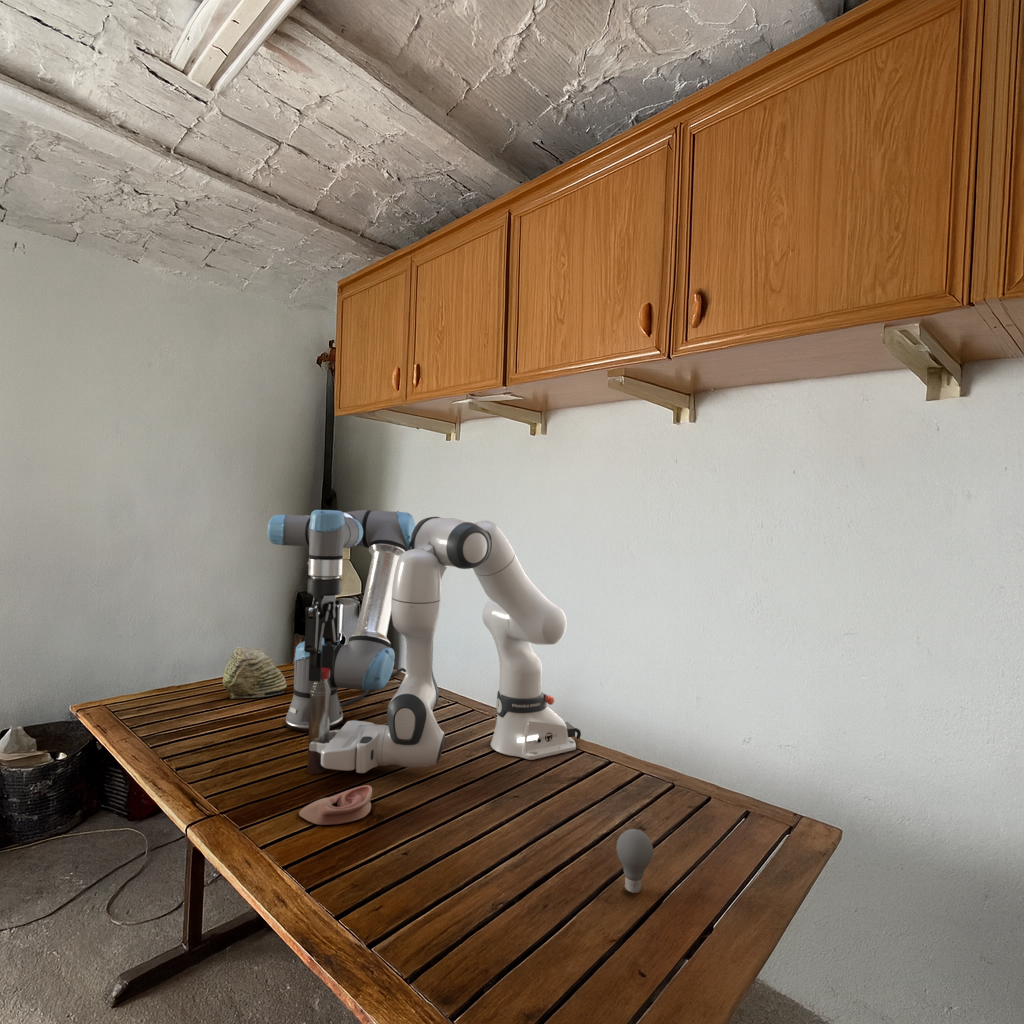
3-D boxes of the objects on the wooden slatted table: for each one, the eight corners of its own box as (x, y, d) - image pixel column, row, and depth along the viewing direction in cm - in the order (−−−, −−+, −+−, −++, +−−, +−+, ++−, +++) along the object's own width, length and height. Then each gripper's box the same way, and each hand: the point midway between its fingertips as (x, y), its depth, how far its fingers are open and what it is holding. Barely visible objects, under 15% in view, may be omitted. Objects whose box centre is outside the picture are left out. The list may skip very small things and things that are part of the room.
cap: (322, 674, 149) (323, 666, 149) (333, 677, 147) (333, 669, 147) (308, 677, 146) (309, 669, 146) (319, 680, 144) (319, 673, 144)
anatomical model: (291, 800, 123) (320, 775, 134) (290, 820, 123) (320, 794, 134) (354, 810, 120) (379, 784, 132) (353, 830, 121) (378, 803, 132)
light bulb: (610, 879, 108) (613, 822, 108) (644, 879, 109) (647, 822, 109) (619, 902, 102) (622, 840, 102) (655, 901, 103) (658, 840, 103)
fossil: (218, 695, 195) (220, 647, 195) (278, 685, 208) (279, 640, 207) (228, 703, 189) (230, 653, 188) (289, 692, 201) (290, 645, 201)
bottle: (332, 768, 148) (335, 671, 147) (318, 775, 144) (321, 675, 143) (317, 764, 150) (321, 668, 149) (303, 771, 146) (306, 672, 145)
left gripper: (327, 571, 156) (324, 665, 156) (289, 580, 137) (285, 687, 138) (356, 573, 154) (352, 668, 155) (322, 582, 136) (318, 690, 136)
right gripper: (385, 715, 156) (330, 712, 157) (362, 747, 136) (298, 743, 136) (384, 741, 156) (329, 737, 157) (361, 777, 136) (297, 772, 137)
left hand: (321, 676), depth 146 cm, fingers open, 6 cm apart
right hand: (314, 740), depth 147 cm, fingers closed on bottle, 4 cm apart
